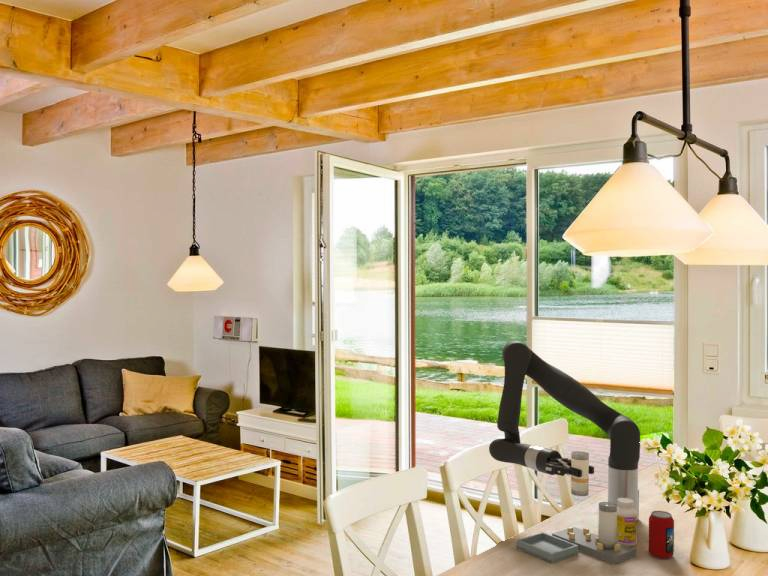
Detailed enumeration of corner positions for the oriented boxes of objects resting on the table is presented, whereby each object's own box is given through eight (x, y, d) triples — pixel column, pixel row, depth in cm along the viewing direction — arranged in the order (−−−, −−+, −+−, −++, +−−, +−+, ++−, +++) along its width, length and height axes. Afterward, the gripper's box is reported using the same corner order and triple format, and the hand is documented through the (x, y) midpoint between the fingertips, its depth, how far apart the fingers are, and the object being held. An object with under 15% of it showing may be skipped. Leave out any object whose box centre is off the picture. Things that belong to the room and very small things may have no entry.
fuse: (605, 541, 212) (606, 500, 212) (620, 547, 208) (620, 505, 208) (594, 545, 209) (595, 504, 209) (609, 551, 205) (609, 508, 205)
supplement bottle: (623, 548, 213) (624, 504, 212) (608, 540, 219) (608, 498, 218) (641, 545, 215) (642, 501, 215) (625, 537, 221) (626, 495, 221)
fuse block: (573, 533, 225) (573, 521, 225) (635, 555, 207) (636, 543, 207) (552, 540, 219) (552, 528, 219) (614, 564, 201) (614, 551, 201)
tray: (542, 540, 219) (542, 532, 219) (578, 554, 208) (578, 545, 208) (516, 548, 212) (516, 540, 212) (551, 563, 201) (551, 554, 201)
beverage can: (675, 561, 203) (676, 518, 203) (650, 559, 205) (650, 516, 204) (671, 552, 210) (671, 510, 210) (646, 550, 211) (647, 509, 211)
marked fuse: (578, 489, 220) (578, 450, 220) (592, 494, 216) (592, 453, 216) (567, 492, 217) (567, 452, 217) (581, 497, 213) (581, 456, 213)
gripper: (527, 451, 224) (571, 463, 210) (558, 444, 232) (602, 455, 218) (527, 475, 224) (571, 489, 210) (558, 468, 232) (602, 480, 219)
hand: (587, 472), depth 214 cm, fingers closed on marked fuse, 5 cm apart
